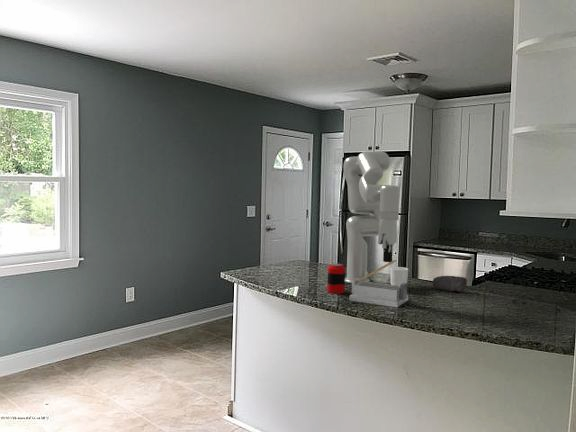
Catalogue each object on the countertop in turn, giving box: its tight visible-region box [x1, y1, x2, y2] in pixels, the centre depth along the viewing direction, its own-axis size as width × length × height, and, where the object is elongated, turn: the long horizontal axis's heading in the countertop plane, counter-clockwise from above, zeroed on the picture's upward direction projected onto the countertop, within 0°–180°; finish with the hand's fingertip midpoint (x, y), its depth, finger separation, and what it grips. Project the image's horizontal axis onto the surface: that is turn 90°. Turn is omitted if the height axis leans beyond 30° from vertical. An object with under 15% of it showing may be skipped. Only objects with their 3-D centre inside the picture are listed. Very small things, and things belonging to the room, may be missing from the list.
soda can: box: [326, 263, 346, 295], centre depth 215 cm, size 8×8×12 cm
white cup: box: [389, 266, 409, 286], centre depth 220 cm, size 8×8×10 cm
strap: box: [356, 259, 397, 283], centre depth 201 cm, size 4×18×1 cm
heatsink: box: [349, 278, 409, 308], centre depth 201 cm, size 14×22×8 cm, turn 60°
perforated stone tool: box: [431, 275, 468, 293], centre depth 222 cm, size 15×5×7 cm, turn 54°
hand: (387, 261), depth 198 cm, fingers closed
